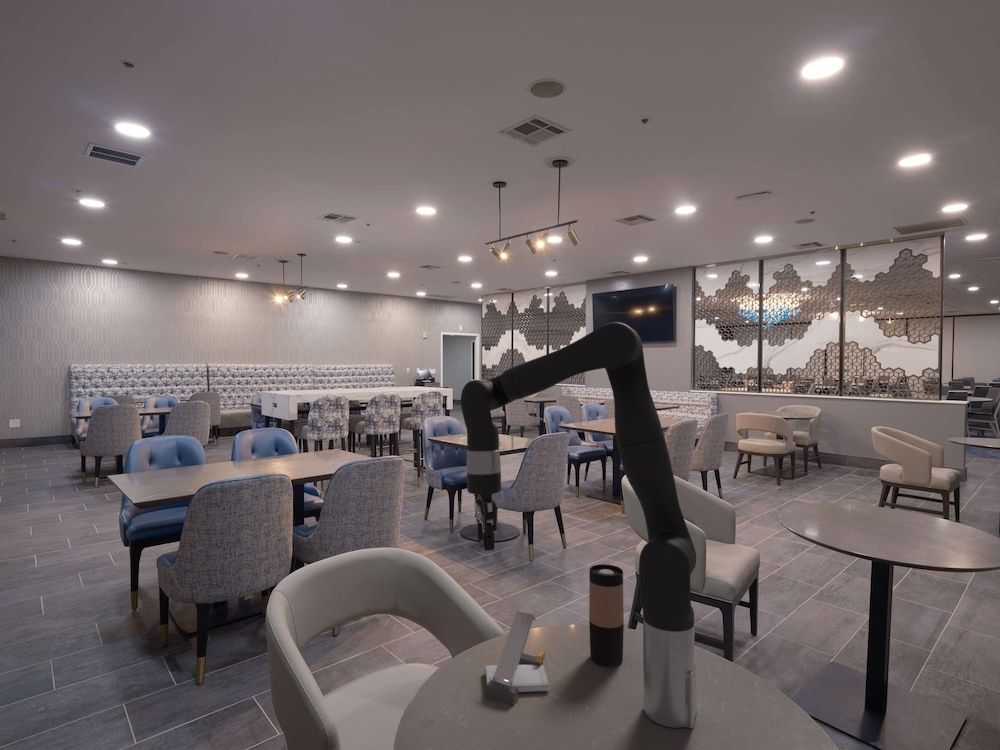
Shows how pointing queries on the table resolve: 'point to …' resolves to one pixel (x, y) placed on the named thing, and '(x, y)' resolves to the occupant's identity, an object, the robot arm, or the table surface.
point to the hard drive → (525, 677)
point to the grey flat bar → (513, 649)
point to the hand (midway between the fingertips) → (485, 544)
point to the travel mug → (606, 615)
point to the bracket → (511, 693)
